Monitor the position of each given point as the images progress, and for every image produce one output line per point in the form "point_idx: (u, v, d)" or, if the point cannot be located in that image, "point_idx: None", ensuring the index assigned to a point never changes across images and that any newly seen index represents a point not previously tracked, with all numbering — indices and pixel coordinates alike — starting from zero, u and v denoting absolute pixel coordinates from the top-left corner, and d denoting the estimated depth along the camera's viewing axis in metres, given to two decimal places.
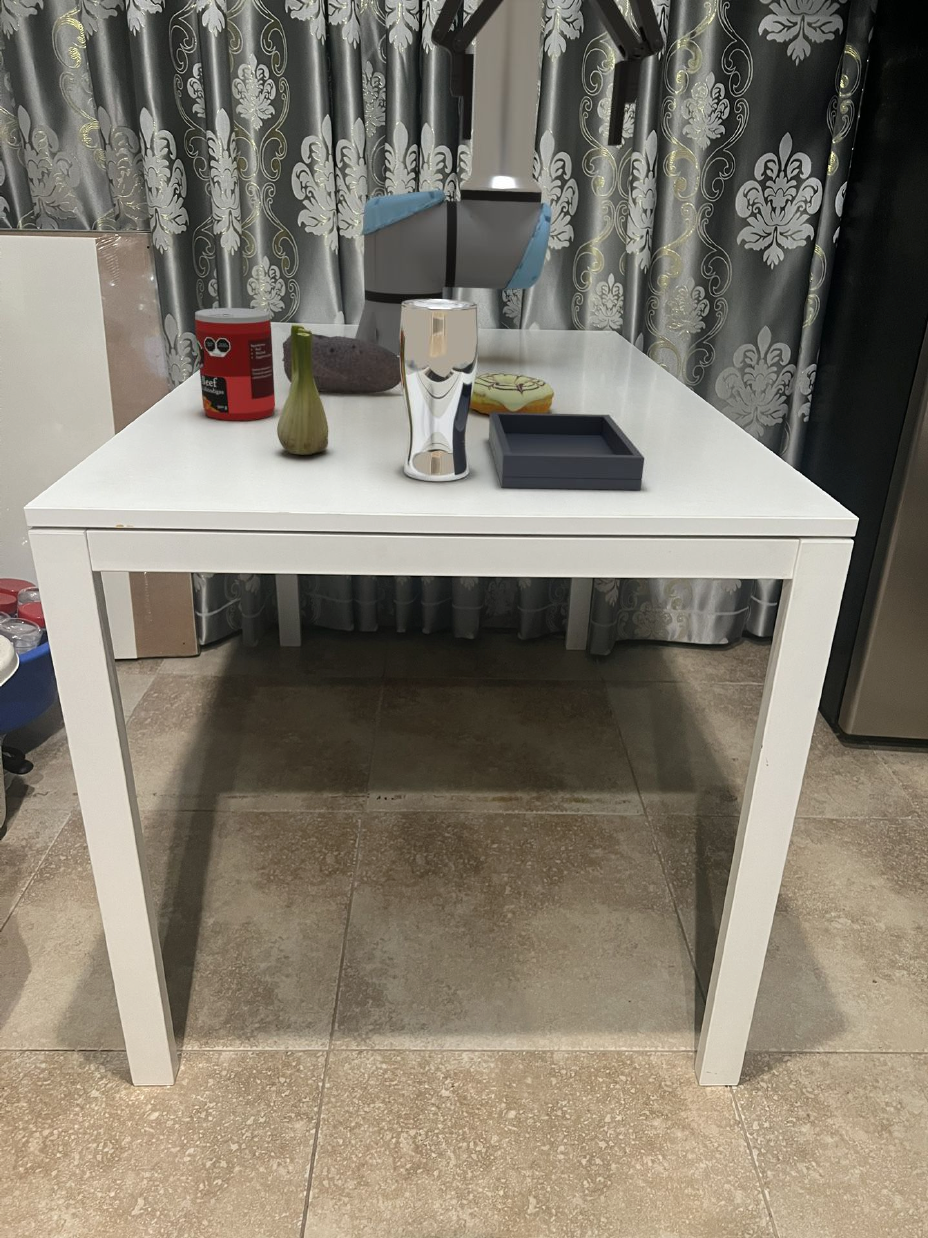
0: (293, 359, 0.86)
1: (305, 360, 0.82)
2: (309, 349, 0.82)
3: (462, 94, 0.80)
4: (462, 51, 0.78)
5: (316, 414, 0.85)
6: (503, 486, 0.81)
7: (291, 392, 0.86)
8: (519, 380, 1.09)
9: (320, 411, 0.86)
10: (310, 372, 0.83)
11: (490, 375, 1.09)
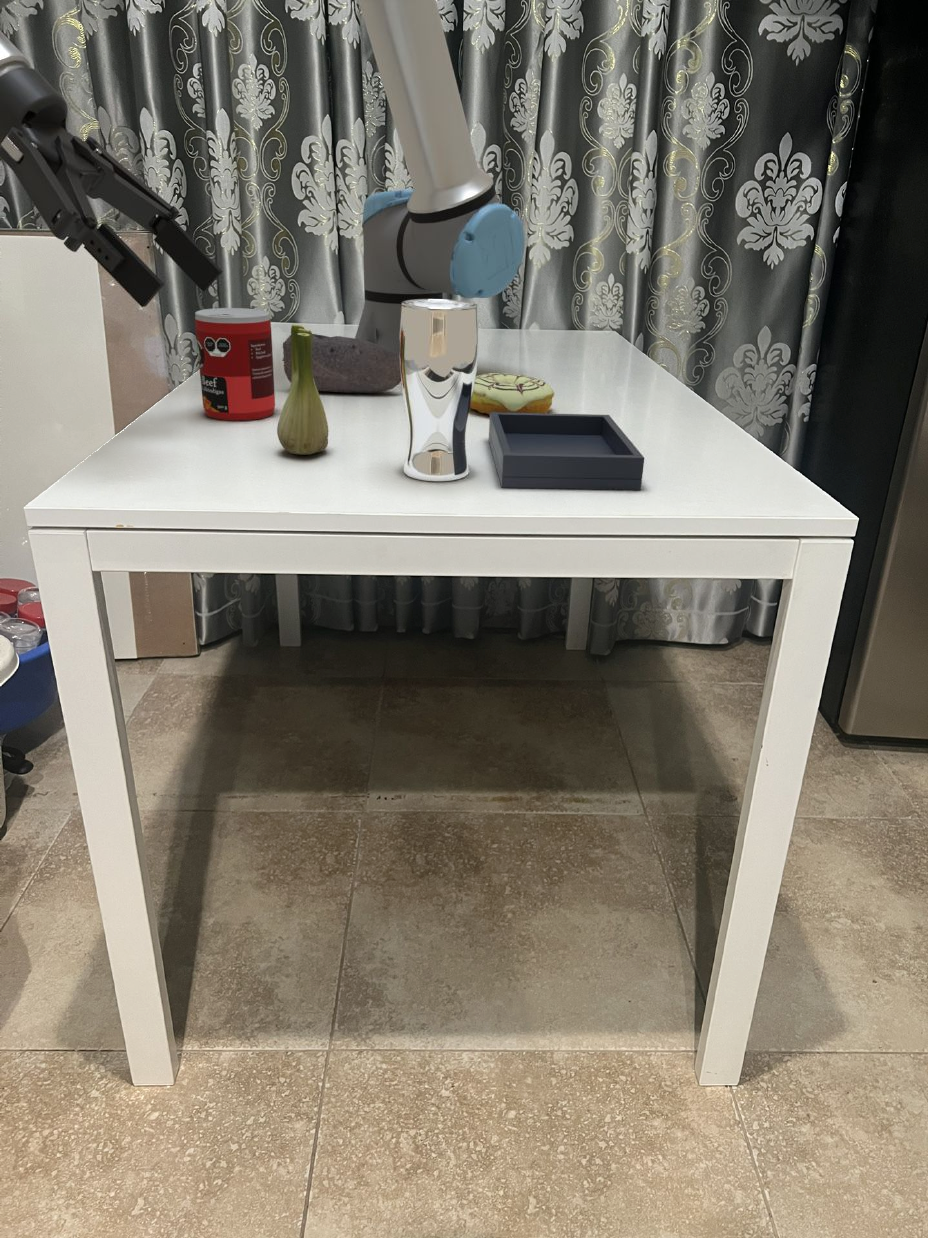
0: (293, 359, 0.86)
1: (305, 360, 0.82)
2: (309, 349, 0.82)
3: None
4: None
5: (316, 414, 0.85)
6: (503, 486, 0.81)
7: (291, 392, 0.86)
8: (519, 380, 1.09)
9: (320, 411, 0.86)
10: (310, 372, 0.83)
11: (490, 375, 1.09)
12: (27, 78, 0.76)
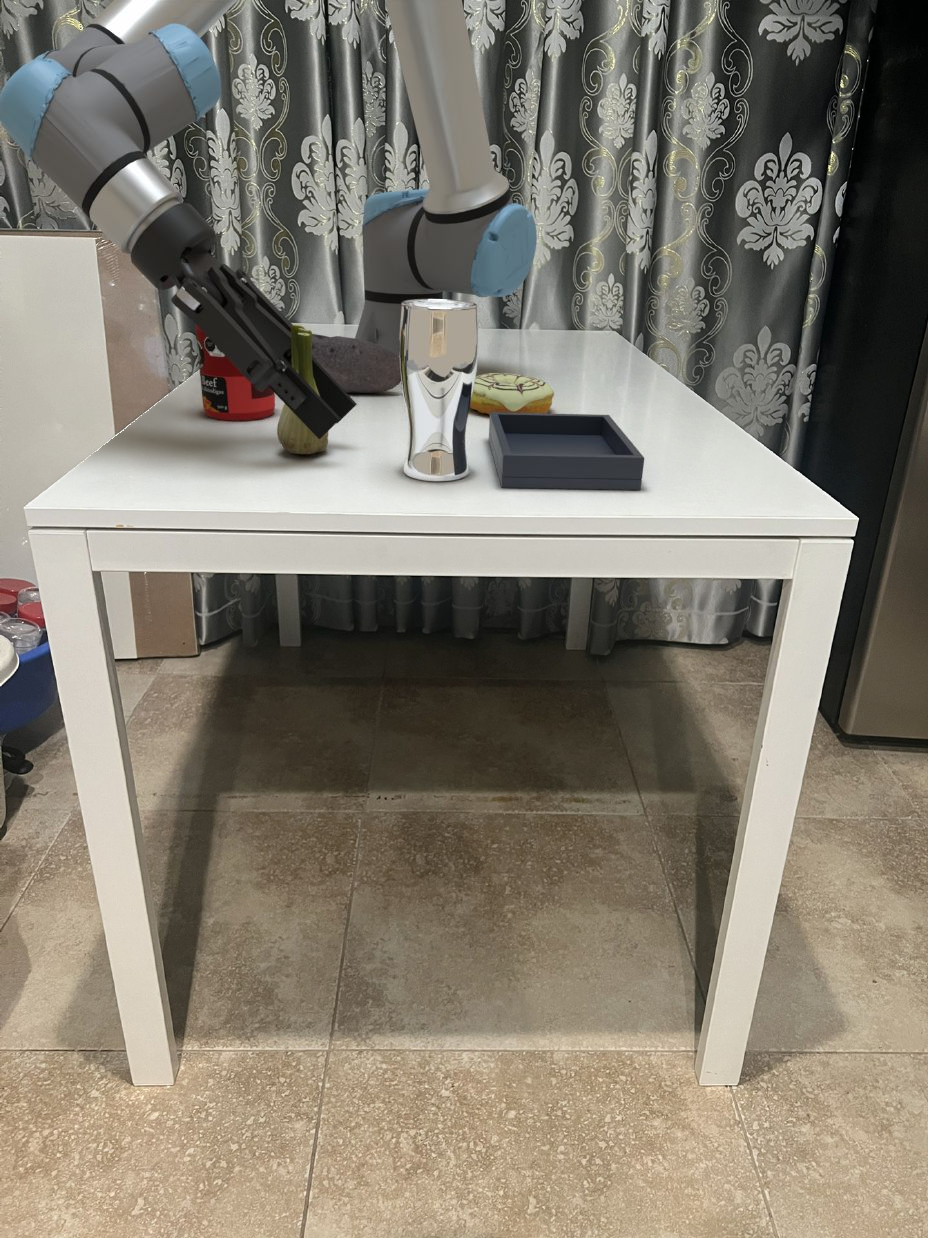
0: (293, 359, 0.86)
1: (305, 360, 0.82)
2: (309, 349, 0.82)
3: None
4: None
5: None
6: (503, 486, 0.81)
7: None
8: (519, 380, 1.09)
9: None
10: (310, 372, 0.83)
11: (490, 375, 1.09)
12: (185, 215, 0.79)
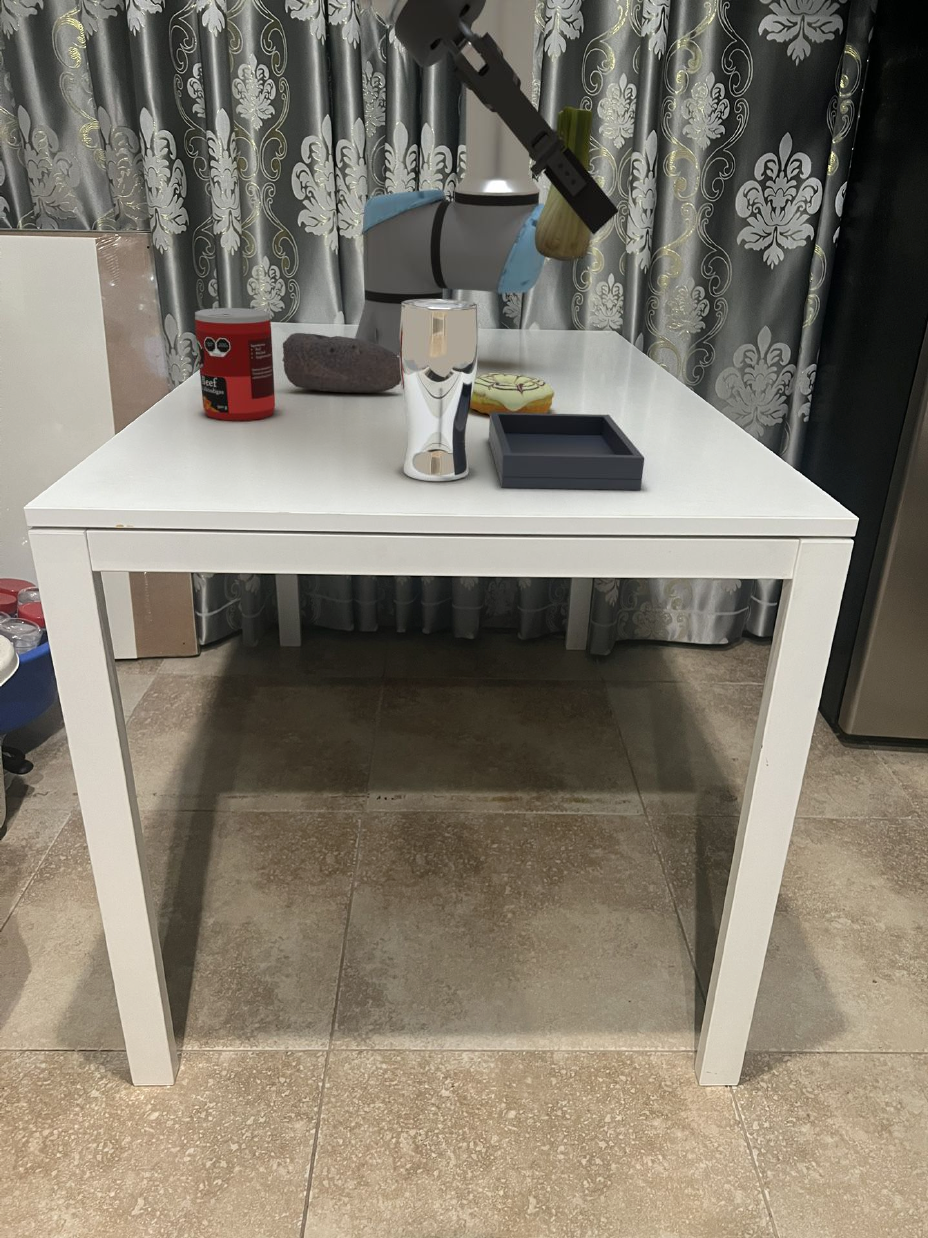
0: None
1: (585, 140, 0.74)
2: (590, 128, 0.74)
3: None
4: (548, 166, 0.81)
5: None
6: (503, 486, 0.81)
7: None
8: (519, 380, 1.09)
9: None
10: (588, 156, 0.75)
11: (490, 375, 1.09)
12: None
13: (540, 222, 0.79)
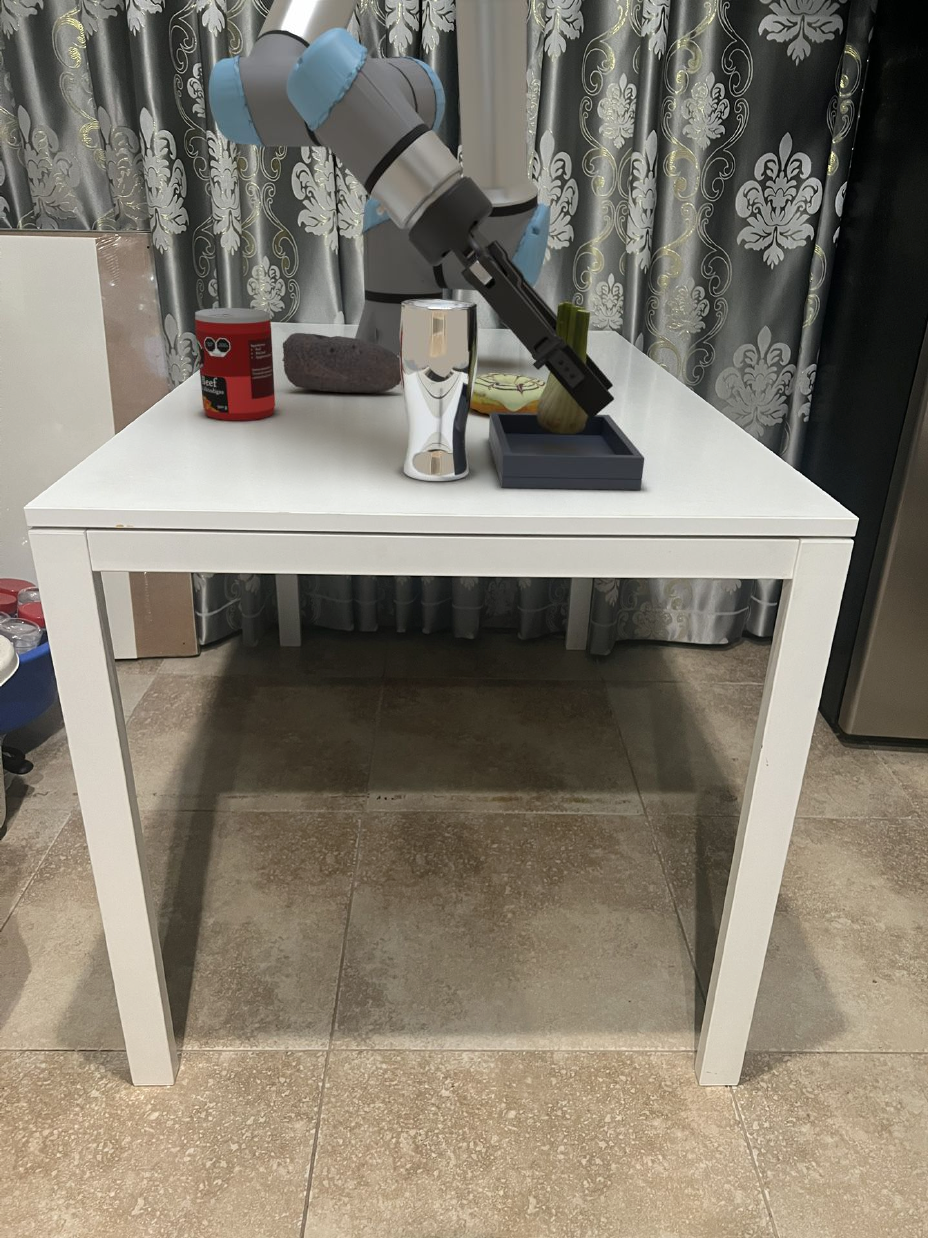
0: None
1: (583, 337, 0.81)
2: (588, 326, 0.81)
3: None
4: None
5: None
6: (503, 486, 0.81)
7: None
8: (519, 380, 1.09)
9: None
10: (586, 350, 0.82)
11: (490, 375, 1.09)
12: (472, 188, 0.78)
13: (542, 402, 0.85)
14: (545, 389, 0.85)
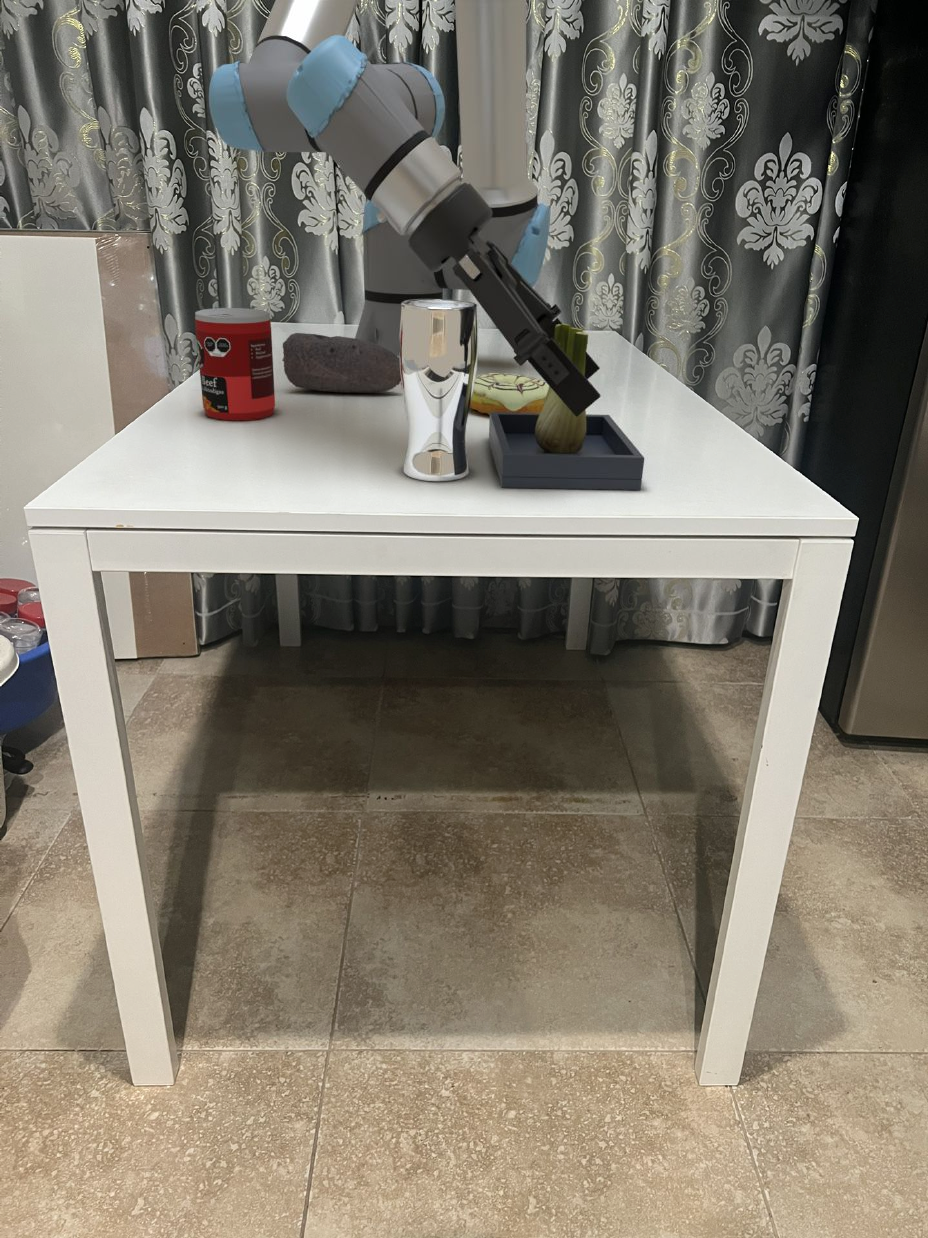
0: None
1: (582, 359, 0.82)
2: (586, 348, 0.82)
3: None
4: None
5: (583, 414, 0.85)
6: (503, 486, 0.81)
7: None
8: (519, 380, 1.09)
9: (584, 410, 0.85)
10: (584, 371, 0.83)
11: (490, 375, 1.09)
12: (471, 194, 0.78)
13: (540, 422, 0.86)
14: (543, 409, 0.86)
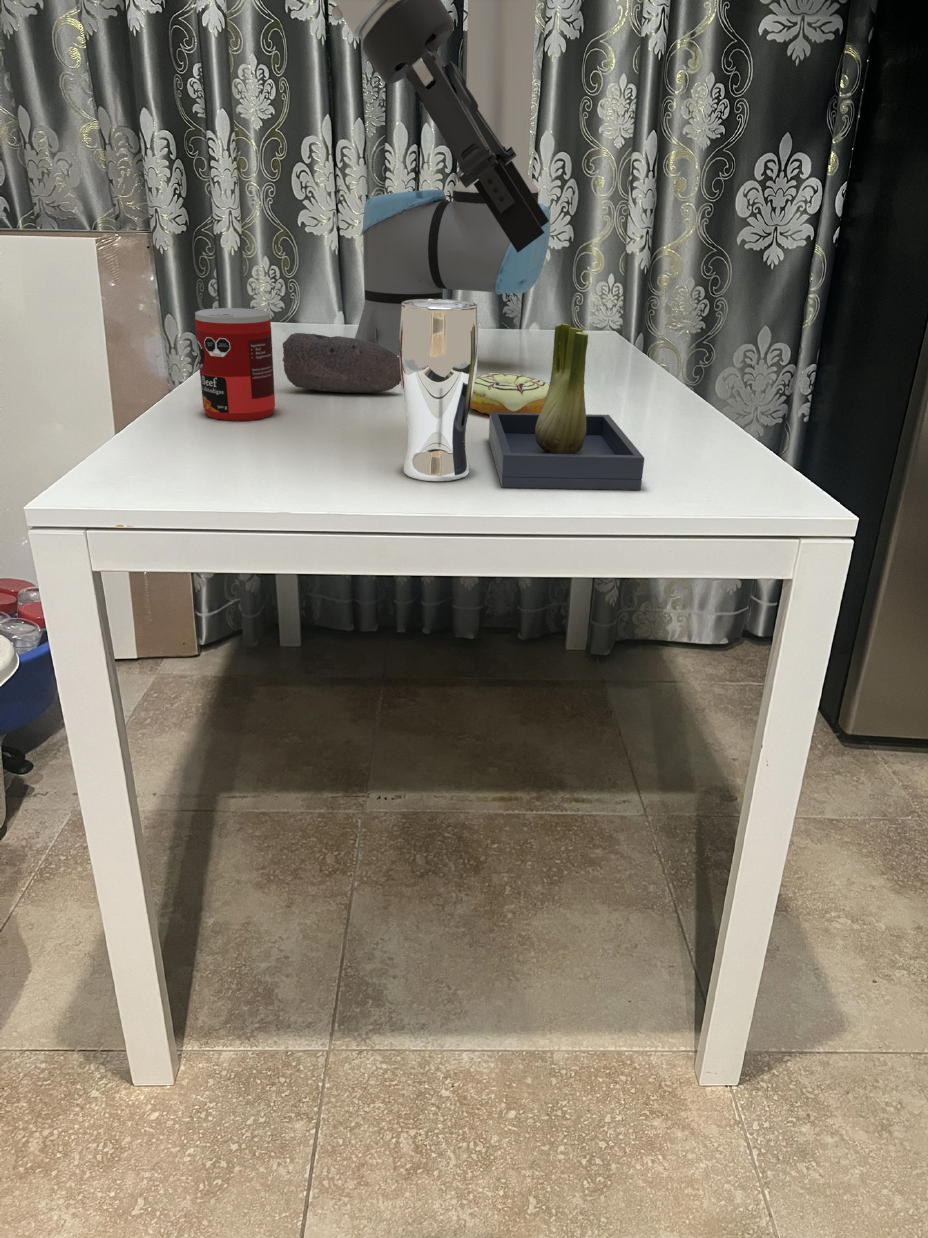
0: (556, 358, 0.86)
1: (582, 359, 0.82)
2: (586, 348, 0.82)
3: None
4: None
5: (583, 414, 0.85)
6: (503, 486, 0.81)
7: (557, 391, 0.85)
8: (519, 380, 1.09)
9: (584, 410, 0.85)
10: (584, 371, 0.83)
11: (490, 375, 1.09)
12: None
13: (540, 422, 0.86)
14: (543, 409, 0.86)
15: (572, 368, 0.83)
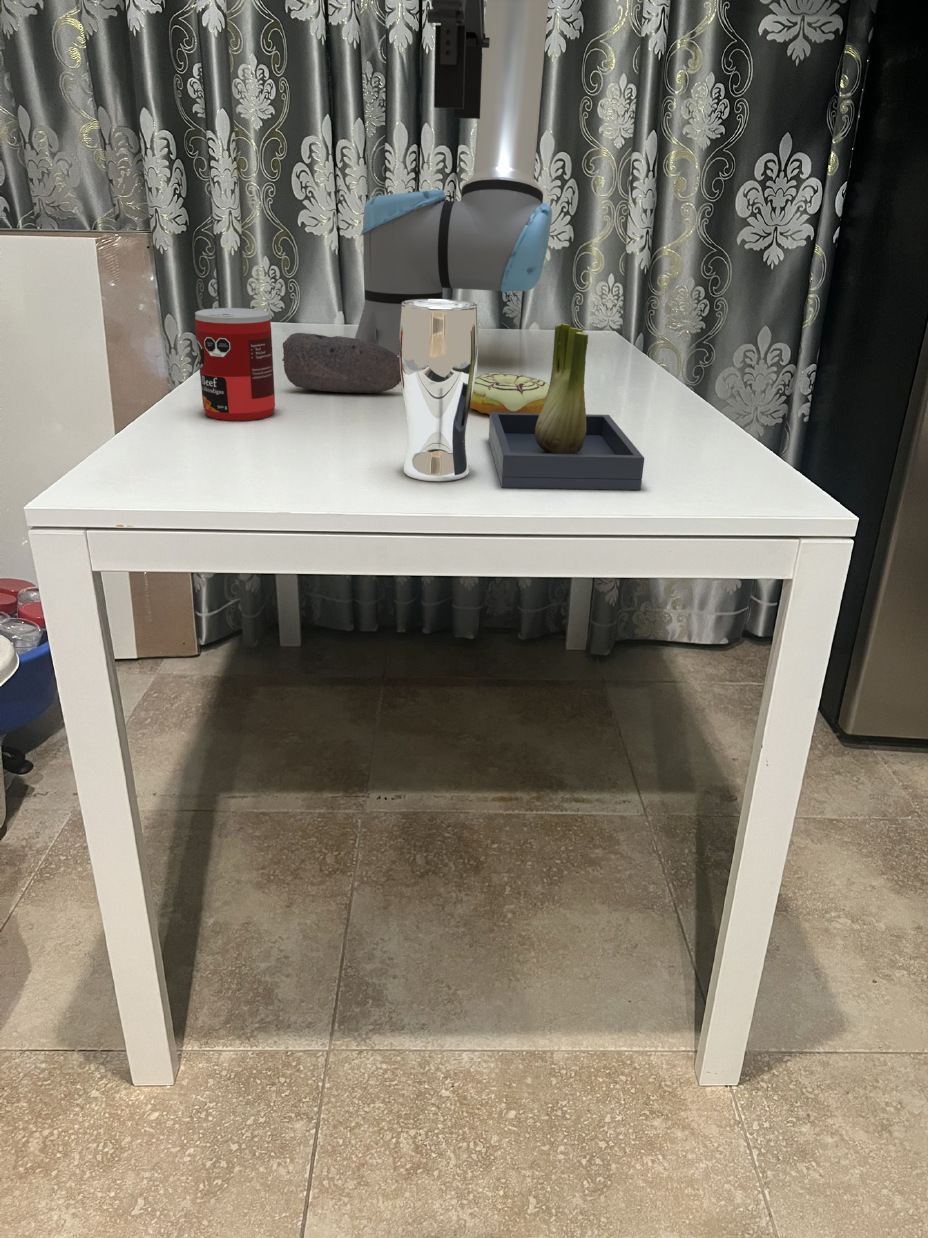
0: (556, 358, 0.86)
1: (582, 359, 0.82)
2: (586, 348, 0.82)
3: None
4: None
5: (583, 414, 0.85)
6: (503, 486, 0.81)
7: (557, 391, 0.85)
8: (519, 380, 1.09)
9: (584, 410, 0.85)
10: (584, 371, 0.83)
11: (490, 375, 1.09)
12: None
13: (540, 422, 0.86)
14: (543, 409, 0.86)
15: (572, 368, 0.83)
